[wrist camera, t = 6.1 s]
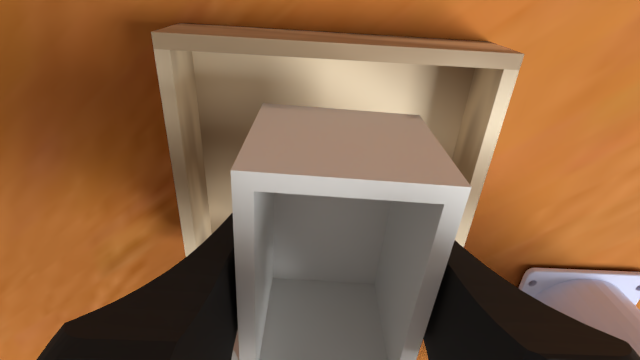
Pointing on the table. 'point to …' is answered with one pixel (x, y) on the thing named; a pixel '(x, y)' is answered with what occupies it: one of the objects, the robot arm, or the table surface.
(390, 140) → the small crate
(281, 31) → the shallow wooden tray
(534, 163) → the table surface
